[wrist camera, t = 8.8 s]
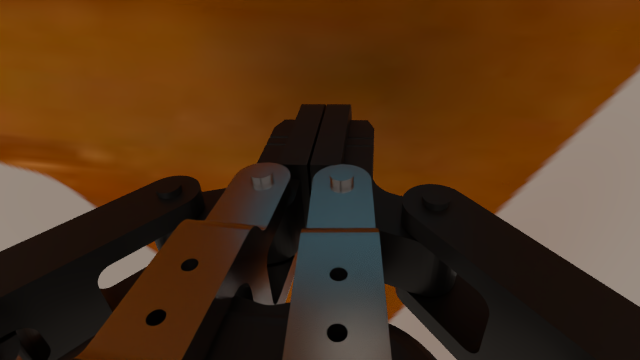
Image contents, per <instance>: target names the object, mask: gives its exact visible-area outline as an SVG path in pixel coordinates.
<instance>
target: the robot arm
mask: <svg viewBox="0 0 640 360" xmlns="http://www.w3.org/2000/svg"><path fill="white" fill-rule="evenodd" d="M373 152H374V128H373V127H372V125H371V124H370V123H369V122H368V120H352V117H351V105H343V104H327V106H326V105H325V104H302V105H301V107H300V110H299V112H298V115H297V117H296V120H284V121H283V122H281V123H280V124H278V125H277V126H276V127H275V128H274V130H273V132H272V134H271V136H270V138H269V140H268V142H267V145H266V146H265V148H264V150H263V152H262V154H261V156H260V158H259V160H258V162H257V164H253V165H250V166H247V167H245V168H243V169H242V170H240V171H239V172H238V173H237V174H236V175H235V177H234V178H233V180H232V181H231V182H230V184H229V185H228V187H227V188H224V189H218V190H212V191H206V192H202V191H201V187H200V184H199V182H198V181H197V180H196V179H194V178H192V177H189V176H172V177H167V178H163V179H161V180H158V181H156V182H153V183H151V184H149V185H147V186H145V187H142V188H140V189H138V190H136V191H134V192H131V193H129V194H127V195H125V196H122V197H120V198H118V199H116V200H114V201H111V202H109V203H107V204H105V205H103V206H100V207H98V208H96V209H94V210H91V211H89V212H87V213H85V214H83V215H80V216H78V217H76V218H74V219H72V220H69V221H67V222H65V223H63V224H61V225H58V226H56V227H54V228H52V229H49V230H47V231H45V232H43V233H41V234H38V235H36V236H34V237H32V238H30V239H27V240H25V241H23V242H21V243H18V244H16V245H14V246H12V247H10V248H7V249H5V250H3V251H1V252H0V360H437V359H436V358H435V357H434V356H433V355H432V354H431V353H430V352H429V351H428V350H427V349H426V348H425V347H424V346H423V345H422V344H420V343H419V342H418V341H417V340H416V339H414V338H413V337H411V336H410V335H409V334H407V333H406V332H404V331H402V330H401V329H399V328H397V327H396V326H393V325H391V324H389V323H388V317H387V307H386V296H385V286H384V283H385V284H388V285H391V286H394V287H395V288H396V293H397V296H398V298H399V299H400V300H401V302H402V303H403V304H404V305H405V306H406V307H407V308H408V309H409V310H410V311H411V312H412V313H413V314H414V315H415V316H416V317H417V318H418V319H419V320H420V321H421V322H422V323H423V325H425V327H427V329H428V330H429V331H430V332H431V333H432V334H433V335H434V336H435V337H436V338H437V339H438V340H439V341H440V342H441V343H442V344H443V345H444V346H445V348H446V349H448V351H449V352H450V353H451V354H452V355H453V356H454V357H455V358H456V359H457V360H640V307H639V306H637V305H636V304H634V303H633V302H631V301H629V300H628V299H626V298H625V297H623V296H622V295H620V294H619V293H617V292H615V291H614V290H612V289H611V288H609V287H608V286H606V285H604V284H603V283H601V282H599V281H598V280H597V279H595V278H593V277H592V276H590V275H589V274H587V273H586V272H584V271H582V270H581V269H579V268H578V267H576V266H574V265H573V264H571V263H570V262H568V261H567V260H565V259H563V258H562V257H560V256H558V255H557V254H556V253H554V252H552V251H551V250H549V249H548V248H546V247H545V246H543V245H541V244H540V243H538V242H537V241H535V240H534V239H532V238H530V237H529V236H527V235H526V234H524V233H523V232H521V231H520V230H518V229H516V228H514V227H513V226H512V225H510V224H509V223H507V222H505V221H504V220H502V219H501V218H499V217H498V216H496V215H494V214H493V213H491V212H490V211H488V210H487V209H485V208H483V207H482V206H480V205H479V204H477V203H476V202H474V201H472V200H471V199H469V198H468V197H466V196H465V195H463V194H461V193H460V192H458V191H456V190H455V189H452V188H450V187H446V186H442V185H436V184H425V185H419V186H416V187H413V188H411V189H409V190H408V191H407V192H406V193H405V194H404V196H403V197H402V196H398V195H395V194H391V193H389V192H386V191H384V190H383V189H381V188H380V187H378V186H377V185H376V184H375V182H374V181H373ZM153 241H155V243H156V245H157V248H158V251H159V252H158V253H157V254H156V256H155V257H154V258H153V260H152V261H151V262H150V264H149V265H148V266H147V267H145V268H144V269H142V270H140V271H138V272H137V273H135V274H134V275H131V276H130V277H128V278H126V279H124V280H123V281H121V282H119V283H117V284H116V285H114V286H112V287H110V288H106V289H100V288H99V286H98V278H99V275H100V274H101V272H102V271H103V270H104V269H105V268H106V267H107V266H109V265H111V264H112V263H114V262H116V261H118V260H120V259H122V258H124V257H125V256H127V255H129V254H131V253H133V252H135V251H137V250H138V249H140V248H142V247H144V246H146V245H148V244H150V243H152V242H153ZM293 278H294V282H293V289H292V296H291V302H290V303H285V301H286V298H287V295H288V292H289V289H290V287H291V284H292V281H293Z"/></svg>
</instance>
